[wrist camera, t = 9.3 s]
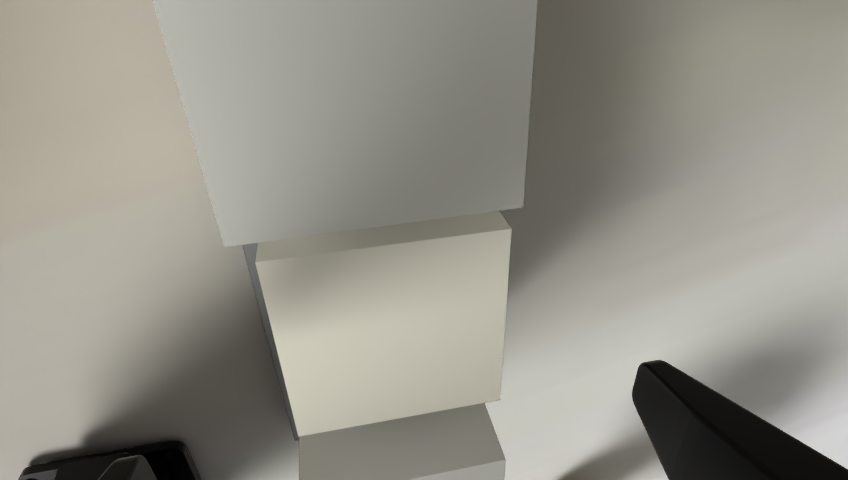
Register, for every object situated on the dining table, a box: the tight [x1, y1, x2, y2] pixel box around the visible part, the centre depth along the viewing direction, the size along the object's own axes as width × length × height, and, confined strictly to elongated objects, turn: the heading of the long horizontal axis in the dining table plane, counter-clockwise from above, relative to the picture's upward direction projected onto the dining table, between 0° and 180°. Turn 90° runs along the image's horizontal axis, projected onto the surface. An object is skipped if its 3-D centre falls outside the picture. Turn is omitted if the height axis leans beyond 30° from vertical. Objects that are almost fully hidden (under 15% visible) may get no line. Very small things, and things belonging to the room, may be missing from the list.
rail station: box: [152, 0, 538, 480], centre depth 14 cm, size 22×8×9 cm, turn 2°
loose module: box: [255, 211, 512, 437], centre depth 14 cm, size 5×5×6 cm
